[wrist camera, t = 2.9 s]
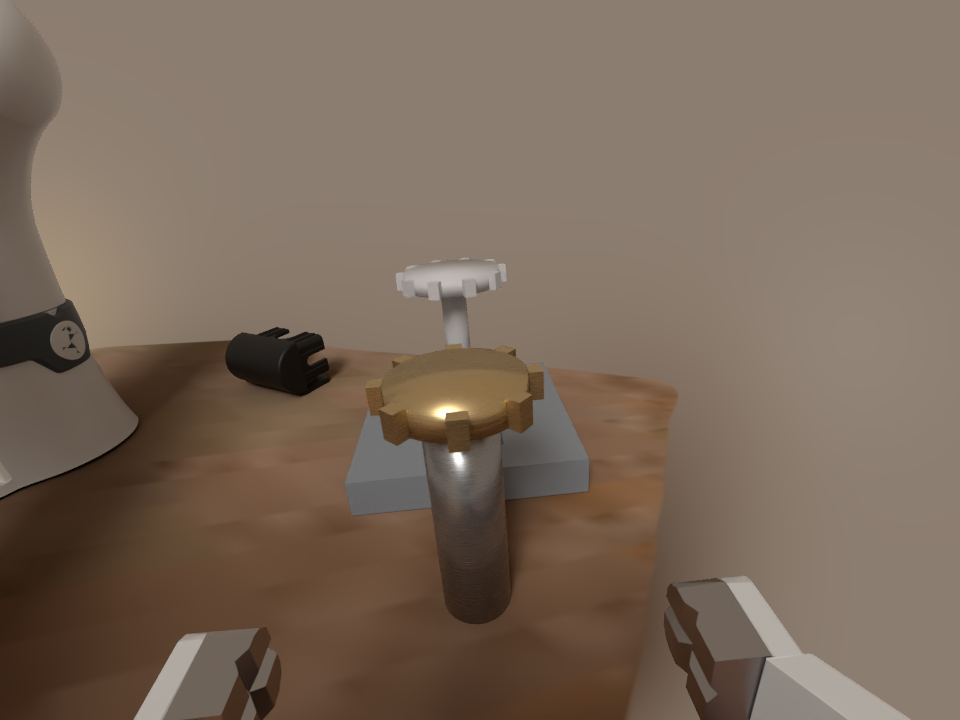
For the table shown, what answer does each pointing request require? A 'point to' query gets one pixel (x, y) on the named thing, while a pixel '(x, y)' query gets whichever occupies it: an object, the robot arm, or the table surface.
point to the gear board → (526, 457)
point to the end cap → (278, 360)
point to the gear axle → (462, 458)
